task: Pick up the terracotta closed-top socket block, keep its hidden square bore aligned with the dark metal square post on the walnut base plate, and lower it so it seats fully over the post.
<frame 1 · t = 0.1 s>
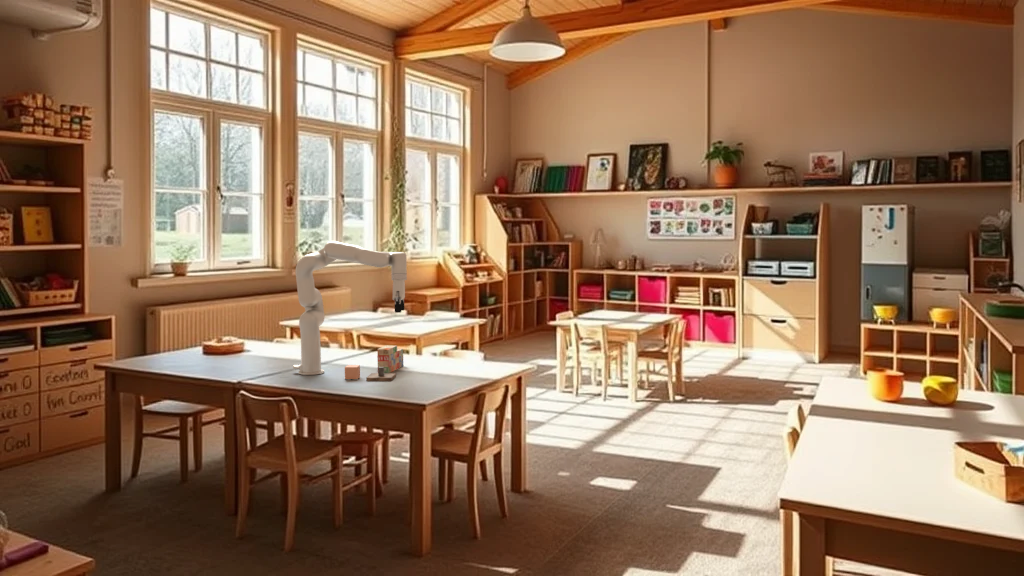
hand: (399, 311, 408), 31 cm above the table, fingers open, 9 cm apart
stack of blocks: (390, 369, 423), on the table
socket: (352, 378, 397), on the table
base plate: (381, 378, 397), on the table
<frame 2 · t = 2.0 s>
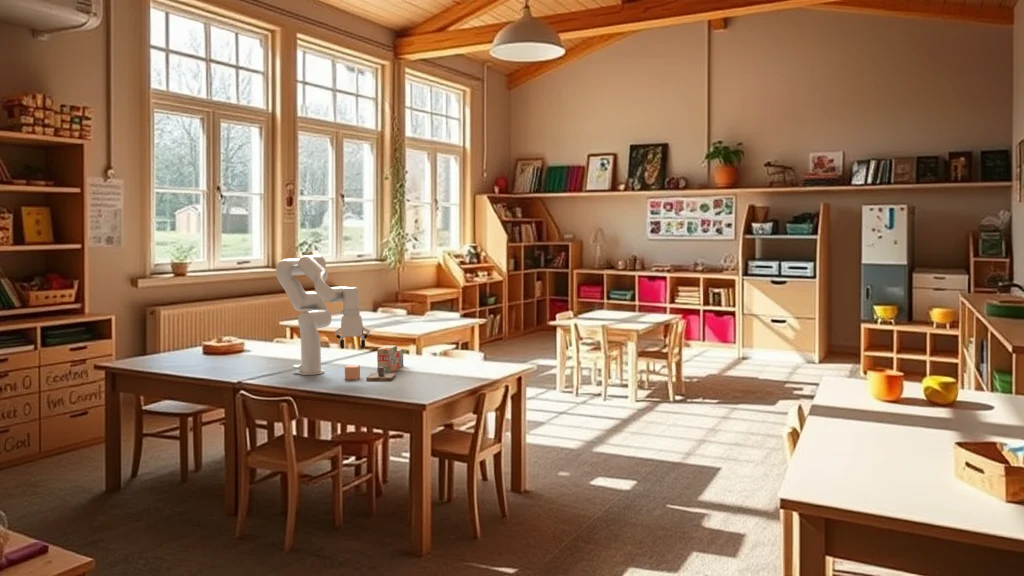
hand: (352, 348, 396), 15 cm above the table, fingers open, 9 cm apart
nothing on the table moved.
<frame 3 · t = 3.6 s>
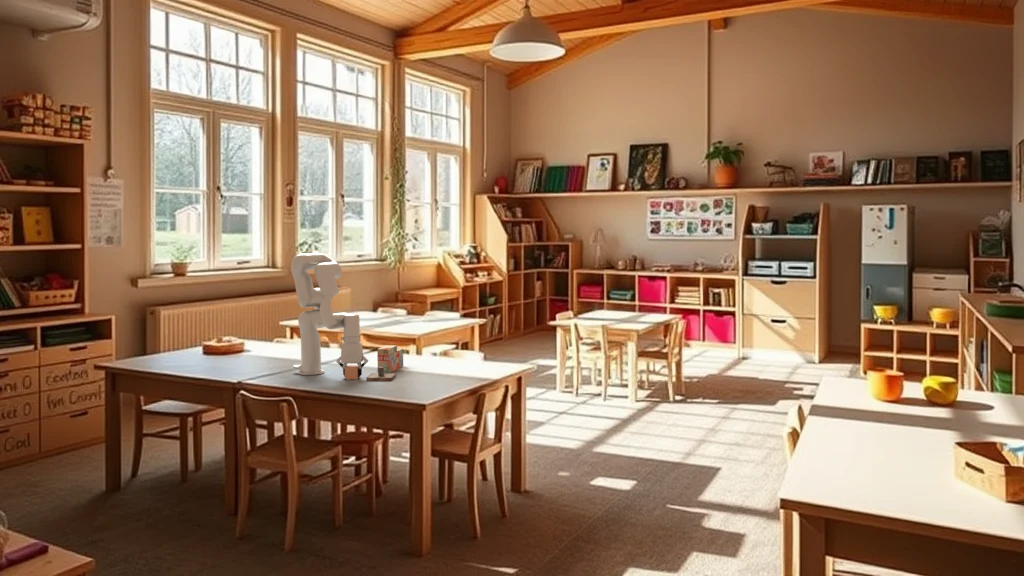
hand: (352, 376, 397), 1 cm above the table, fingers closed on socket, 6 cm apart
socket: (352, 378, 397), on the table, touching gripper
everything else where it was.
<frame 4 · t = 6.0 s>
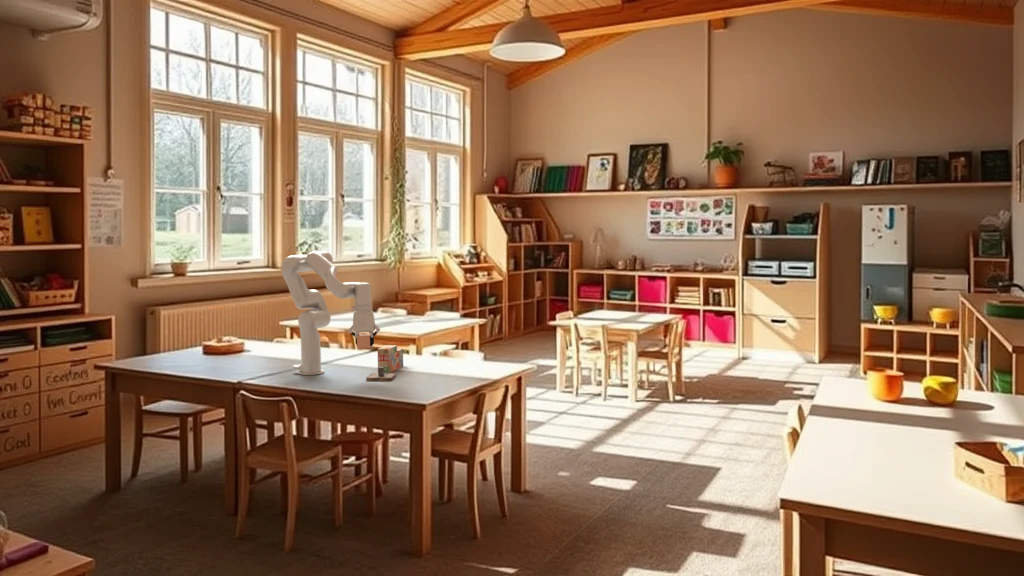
hand: (364, 345, 396), 16 cm above the table, fingers closed on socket, 6 cm apart
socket: (364, 347, 396), point 15 cm above the table, touching gripper
everything else where it was.
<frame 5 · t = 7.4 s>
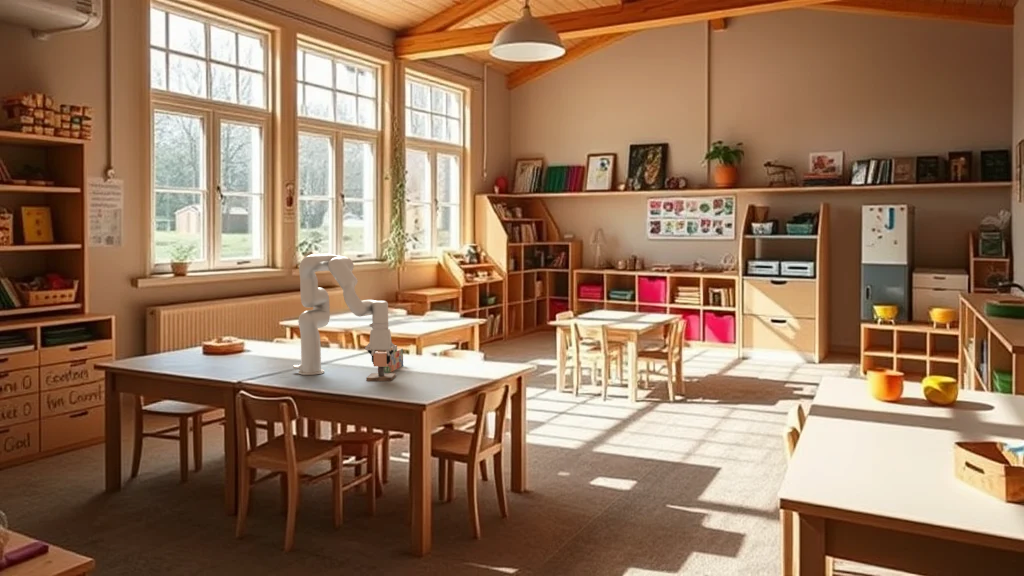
hand: (381, 363, 396), 7 cm above the table, fingers closed on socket, 6 cm apart
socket: (381, 365, 396), point 6 cm above the table, touching gripper
when the fingers open (4 cm above the table, at t = 8.7 s): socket stays where it is, resting on base plate.
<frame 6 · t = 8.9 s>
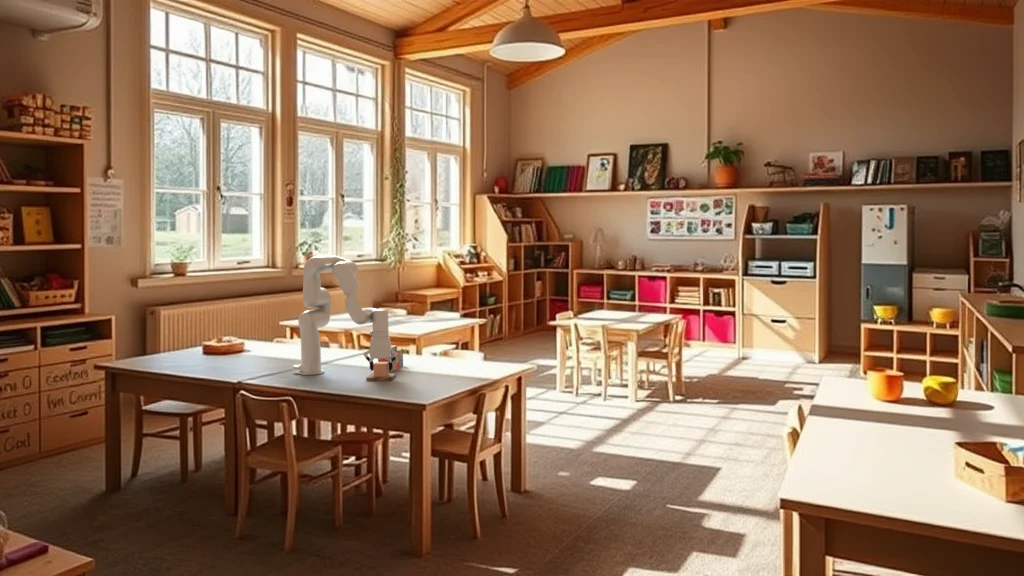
hand: (381, 370, 397), 4 cm above the table, fingers open, 8 cm apart
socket: (381, 375, 397), point 1 cm above the table, touching base plate
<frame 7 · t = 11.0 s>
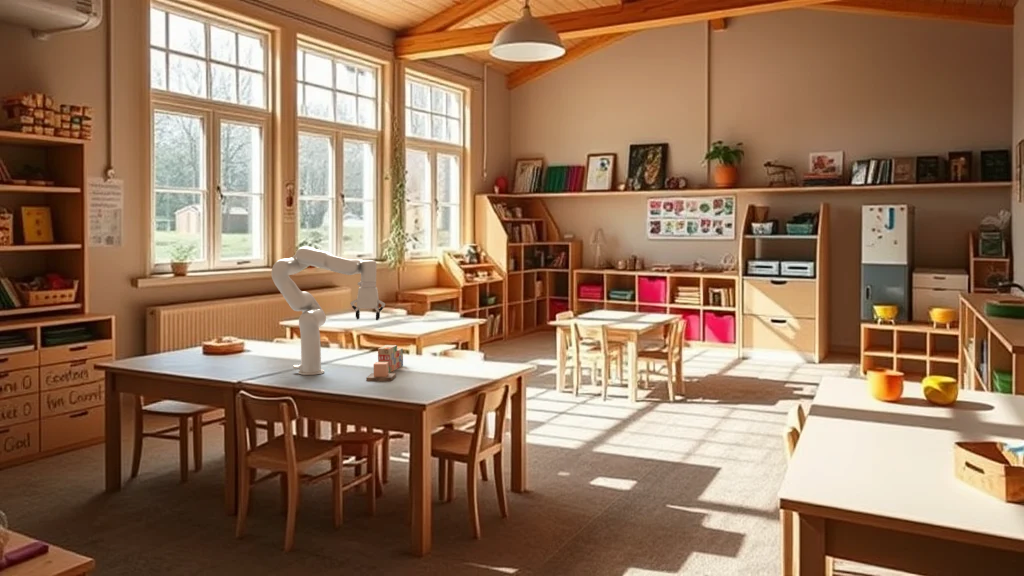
hand: (367, 319, 406), 27 cm above the table, fingers open, 9 cm apart
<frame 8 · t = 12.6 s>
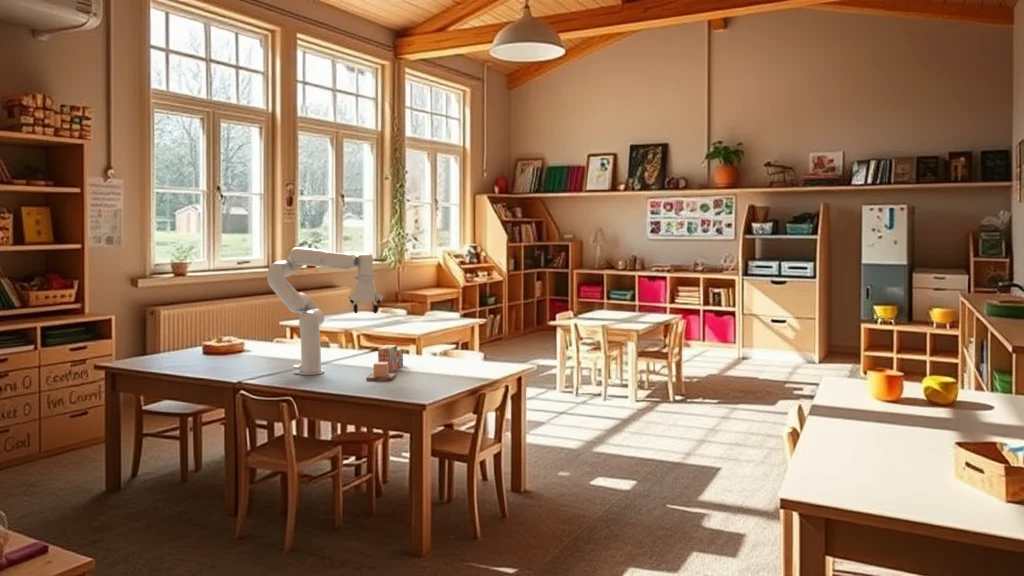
hand: (365, 313, 409), 30 cm above the table, fingers open, 9 cm apart
at the end: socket 0.1 cm off-centre on the base plate, point 1.5 cm above the base plate's base; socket tilted 0°; the gripper is holding nothing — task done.
